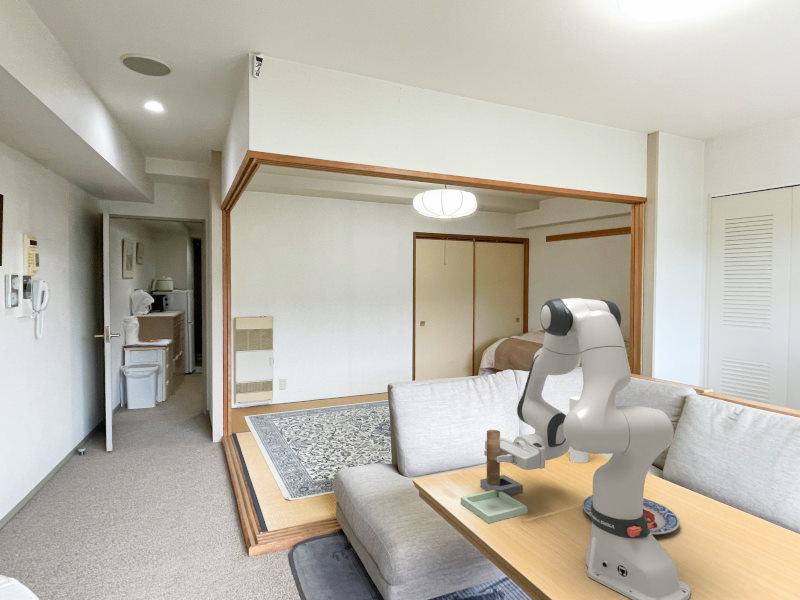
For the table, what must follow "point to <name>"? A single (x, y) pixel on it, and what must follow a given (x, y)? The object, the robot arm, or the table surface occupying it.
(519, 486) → the socket block
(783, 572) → the table surface
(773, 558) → the table surface
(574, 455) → the cylindrical container
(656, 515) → the ceramic plate
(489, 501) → the tray
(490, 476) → the dowel
